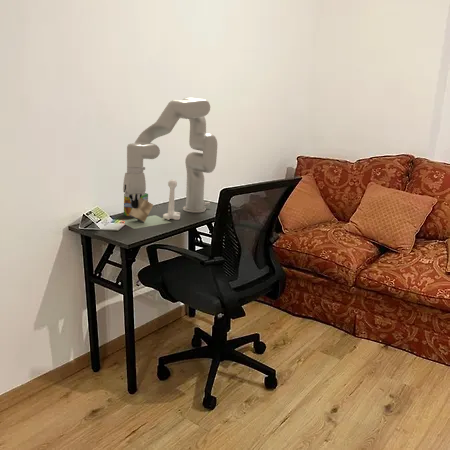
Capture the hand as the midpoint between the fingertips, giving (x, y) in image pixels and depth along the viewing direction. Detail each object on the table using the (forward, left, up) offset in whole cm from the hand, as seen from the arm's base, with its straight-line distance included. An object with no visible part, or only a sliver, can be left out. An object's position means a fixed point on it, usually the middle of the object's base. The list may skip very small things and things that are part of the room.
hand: (134, 207), depth 230 cm
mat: (-5, +1, -8) cm, 9 cm away
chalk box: (-7, -12, -8) cm, 16 cm away
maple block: (-1, 0, -6) cm, 6 cm away
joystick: (-20, +3, -8) cm, 22 cm away
